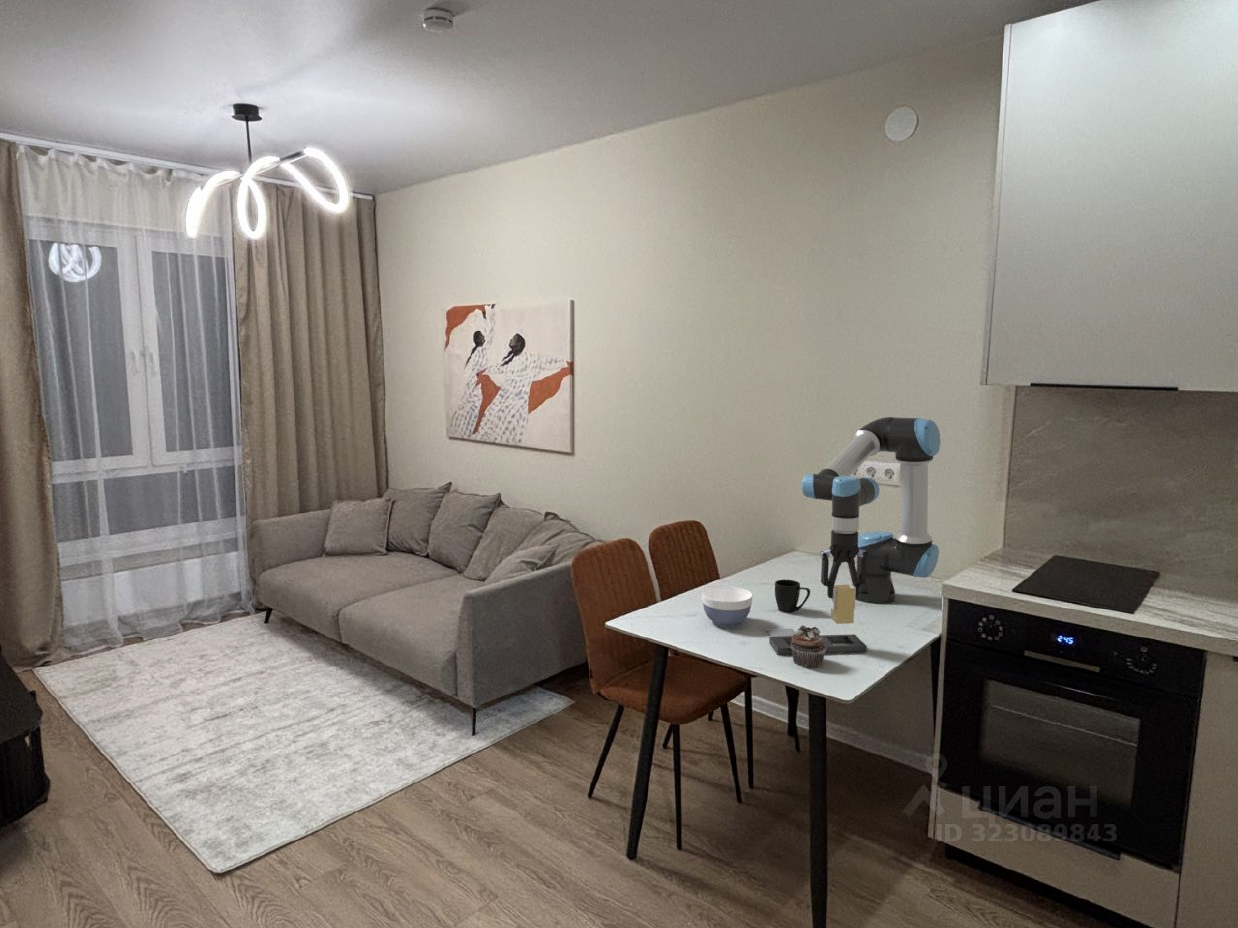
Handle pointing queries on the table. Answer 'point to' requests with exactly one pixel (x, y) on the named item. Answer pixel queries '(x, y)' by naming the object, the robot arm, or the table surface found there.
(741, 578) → the table surface
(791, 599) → the mug
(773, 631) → the pad
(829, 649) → the dark grey peg board
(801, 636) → the cupcake
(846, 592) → the tan wooden peg
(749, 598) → the bowl
